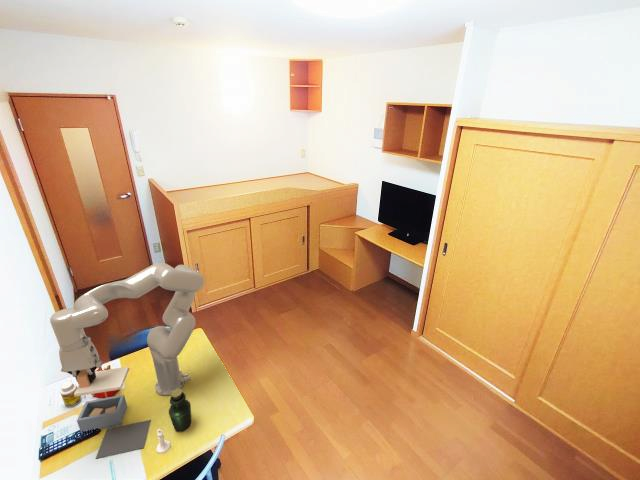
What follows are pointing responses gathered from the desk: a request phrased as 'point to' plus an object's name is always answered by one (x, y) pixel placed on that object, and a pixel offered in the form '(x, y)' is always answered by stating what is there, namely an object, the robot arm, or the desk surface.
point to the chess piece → (162, 443)
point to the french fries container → (108, 393)
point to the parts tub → (102, 413)
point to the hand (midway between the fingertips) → (87, 380)
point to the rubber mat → (124, 439)
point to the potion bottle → (180, 411)
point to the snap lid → (101, 381)
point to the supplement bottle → (69, 394)
